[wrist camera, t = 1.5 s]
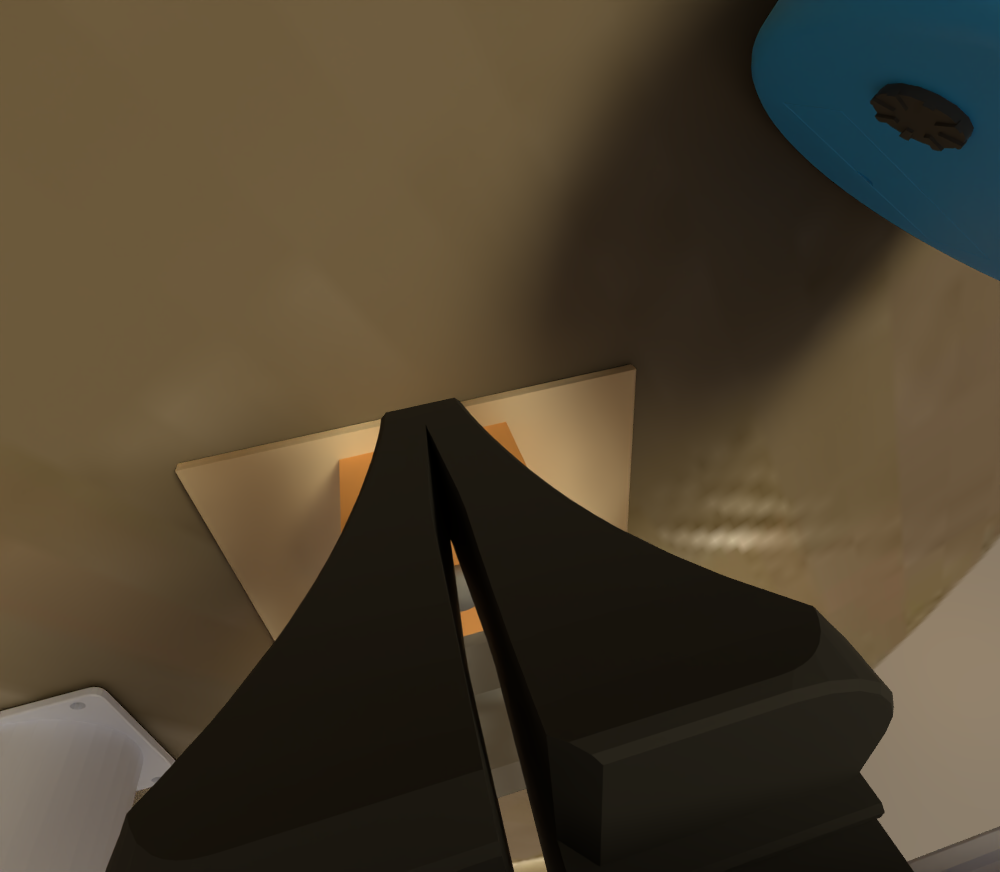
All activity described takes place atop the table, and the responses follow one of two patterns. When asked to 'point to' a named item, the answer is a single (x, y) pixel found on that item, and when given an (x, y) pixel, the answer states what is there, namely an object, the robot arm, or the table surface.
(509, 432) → the lock
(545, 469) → the dock
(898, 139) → the alarm clock
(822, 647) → the robot arm
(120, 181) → the table surface
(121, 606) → the table surface
